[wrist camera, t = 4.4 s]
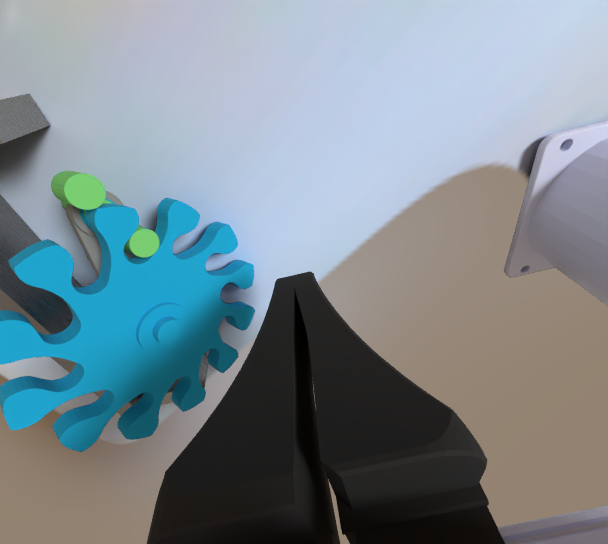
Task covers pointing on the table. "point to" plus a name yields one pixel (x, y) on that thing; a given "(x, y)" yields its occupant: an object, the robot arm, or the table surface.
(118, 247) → the gear
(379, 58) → the table surface
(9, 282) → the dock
